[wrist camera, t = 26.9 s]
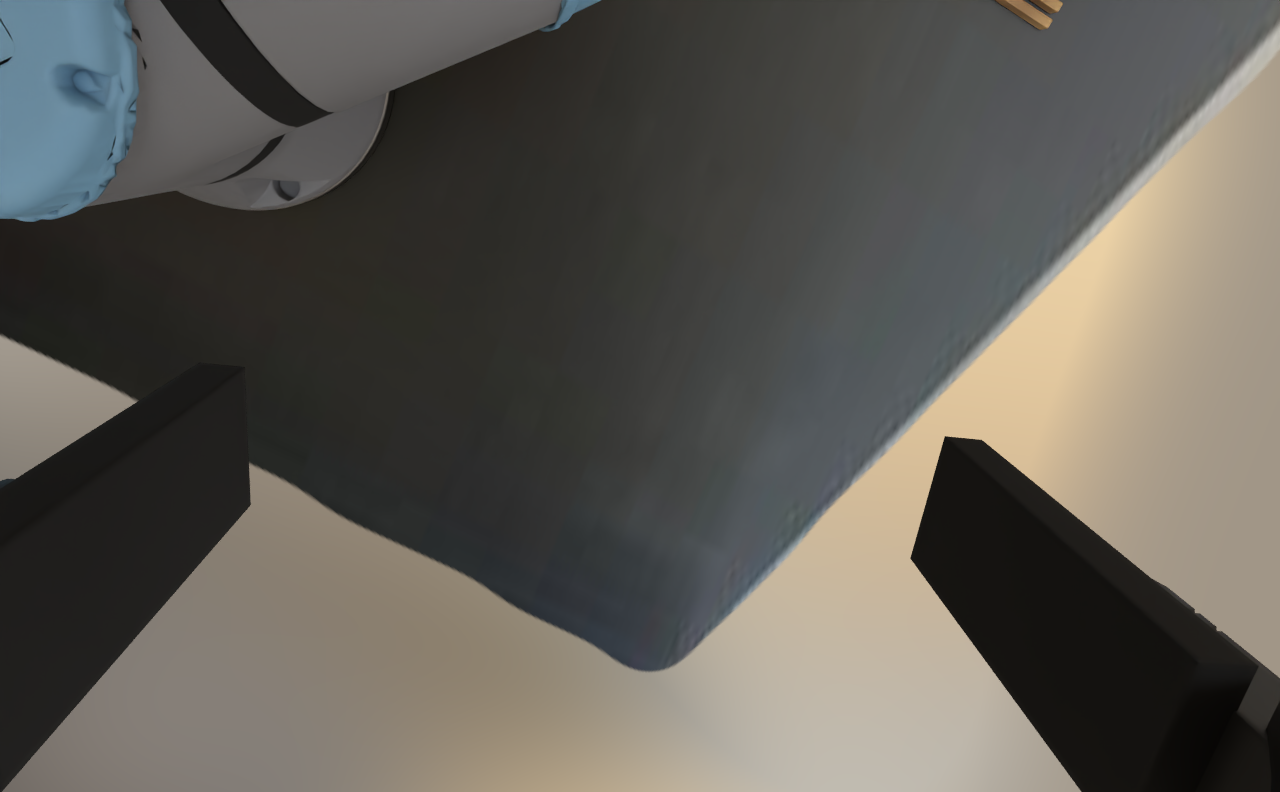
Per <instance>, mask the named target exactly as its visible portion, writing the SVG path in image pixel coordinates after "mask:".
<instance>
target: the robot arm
mask: <svg viewBox="0 0 1280 792" xmlns="http://www.w3.org/2000/svg"><path fill="white" fill-rule="evenodd" d="M599 1H601V0H0V219H2V218H5V219H12V218H14V219H18V220H21V221H29V222H35V221H37V220H40V219H48V220H51V219H57V218H60V217H63V216H66V215H69V214H72V213H75V212H77V211H78V210H80V209H82V208H83V207H87V206H93V205H98V204H104V203H109V202H115V201H120V200H126V199H131V198H137V197H142V196H148V195H153V194H159V193H164V192H170V191H175V190H177V191H179V192H181V193H183V194H185V195H188V196H190V197H192V198H195V199H198V200H201V201H203V202H207V203H211V204H214V205H219V206H224V207H229V208H234V209H242V210H274V209H281V208H286V207H291V206H294V205H298V204H302V203H305V202H308V201H311V200H314V199H316V198H319V197H321V196H324V195H326V194H328V193H329V192H331V191H333V190H335V189H337V188H338V187H340V186H341V185H342V184H344V183H345V182H347V181H348V180H349V179H350V178H351V177H352V176H354V175H355V174H356V173H357V172H358V171H359V170H360V169H361V168H362V167H363V165H364V164H365V163H366V162H367V161H368V159H369V158H370V156H371V155H372V154H373V152H374V151H375V149H376V147H377V146H378V144H379V142H380V140H381V138H382V136H383V134H384V131H385V129H386V127H387V124H388V121H389V118H390V114H391V110H392V105H393V101H394V93H395V89H396V88H399V87H401V86H403V85H406V84H408V83H411V82H413V81H415V80H418V79H420V78H423V77H425V76H427V75H430V74H432V73H435V72H437V71H439V70H442V69H444V68H447V67H449V66H451V65H454V64H456V63H459V62H461V61H463V60H466V59H468V58H471V57H473V56H475V55H478V54H480V53H483V52H485V51H487V50H490V49H492V48H495V47H497V46H500V45H502V44H504V43H507V42H509V41H512V40H514V39H516V38H519V37H521V36H524V35H526V34H528V33H531V32H533V31H536V30H538V29H539V30H541V31H543V32H549V31H552V30H555V29H558V28H559V27H560V26H561V25H562V24H563V23H565V22H567V21H568V20H569V19H570V17H571V16H572V14H574V13H576V12H578V11H580V10H582V9H584V8H586V7H588V6H591V5H593V4H595V3H597V2H599ZM250 505H251V503H250V480H249V457H248V434H247V411H246V388H245V367H237V366H227V365H217V364H207V363H198V364H197V365H195V366H193V367H192V368H190V369H189V370H187V371H186V372H184V373H182V374H181V375H179V376H178V377H176V378H174V379H173V380H171V381H170V382H168V383H167V384H165V385H163V386H162V387H160V388H159V389H157V390H155V391H154V392H152V393H151V394H149V395H148V396H146V397H144V398H143V399H141V400H140V401H138V402H137V403H135V404H133V405H132V406H130V407H129V408H127V409H125V410H124V411H122V412H121V413H119V414H118V415H116V416H114V417H113V418H111V419H110V420H108V421H106V422H105V423H103V424H102V425H100V426H99V427H97V428H96V429H94V430H92V431H91V432H89V433H88V434H86V435H84V436H83V437H81V438H80V439H78V440H76V441H75V442H73V443H72V444H70V445H69V446H67V447H65V448H64V449H62V450H61V451H59V452H57V453H56V454H54V455H53V456H51V457H50V458H48V459H46V460H45V461H44V462H42V463H40V464H39V465H37V466H35V467H34V468H32V469H31V470H29V471H28V472H26V473H24V474H23V475H21V476H20V477H18V478H16V479H6V480H2V481H0V792H2V791H3V790H4V789H5V787H6V786H7V785H8V784H9V783H10V782H11V780H12V779H13V778H14V777H15V776H16V775H17V773H18V772H19V771H20V770H21V769H22V768H23V767H24V765H25V764H26V763H27V762H28V761H29V760H30V759H31V757H32V756H33V755H34V754H35V753H36V752H37V750H38V749H39V748H40V747H41V746H42V745H43V743H44V742H45V741H46V740H47V739H48V738H49V736H51V734H52V733H53V732H54V731H55V730H56V729H57V727H58V726H59V725H60V724H61V723H62V722H63V720H64V719H65V718H66V717H67V716H68V715H69V714H70V712H71V711H72V710H73V709H74V708H75V707H76V706H77V704H78V703H79V702H80V701H81V700H82V699H83V698H84V696H85V695H86V694H87V693H88V692H89V691H90V689H91V688H92V687H93V686H94V685H95V684H96V682H97V681H98V680H99V679H100V678H101V677H102V675H103V674H104V673H105V672H106V671H107V670H108V669H109V668H110V666H111V665H112V664H113V663H114V662H115V661H116V659H117V658H118V657H119V656H120V655H121V654H122V653H123V651H124V650H125V649H126V648H127V647H128V646H129V644H130V643H131V642H132V641H133V639H135V637H136V636H137V635H138V634H139V633H140V632H141V631H142V630H143V628H144V627H145V626H146V625H147V624H148V623H149V621H150V620H151V619H152V618H153V617H154V616H155V614H156V613H157V612H158V611H159V610H160V609H161V608H162V606H163V605H164V604H165V603H166V602H167V601H168V600H169V598H170V597H171V596H172V595H173V594H174V593H175V592H176V590H177V589H178V588H179V587H180V586H181V585H182V583H183V582H184V581H185V580H186V579H187V578H188V577H189V575H190V574H191V573H192V572H193V571H194V569H195V568H196V567H197V566H198V565H199V564H200V563H201V562H202V560H203V559H204V558H205V557H206V556H207V555H208V553H209V552H210V551H211V550H212V549H213V547H215V545H216V544H217V543H218V542H219V541H220V540H221V538H222V537H223V536H224V535H225V534H226V533H227V532H228V530H229V529H230V528H231V527H232V526H233V525H234V523H235V522H236V521H237V520H238V519H239V518H240V517H241V515H242V514H243V513H244V512H245V511H246V510H247V509H248V507H249V506H250ZM911 560H912V561H913V562H914V564H915V565H916V567H917V568H918V569H919V571H920V572H921V574H922V575H923V576H924V577H925V579H926V580H927V582H928V583H929V584H930V586H931V587H932V588H933V590H934V591H935V593H936V594H937V595H938V597H939V598H940V599H941V601H942V602H943V603H944V605H945V606H946V607H947V609H948V610H949V611H950V613H951V614H952V616H953V617H954V618H955V620H956V621H957V623H958V624H959V625H960V627H961V628H962V629H963V631H964V632H965V633H966V635H967V636H968V637H969V639H970V640H971V641H972V643H973V644H974V646H975V647H976V648H977V650H978V651H979V653H980V654H981V655H982V657H983V658H984V659H985V661H986V662H987V663H988V665H989V666H990V668H991V669H992V670H993V672H994V673H995V674H996V676H997V677H998V678H999V680H1000V681H1001V683H1002V684H1003V685H1004V687H1005V688H1006V689H1007V691H1008V692H1009V693H1010V695H1011V696H1012V698H1013V699H1014V700H1015V702H1016V703H1017V704H1018V706H1019V707H1020V708H1021V710H1022V711H1023V712H1024V714H1025V715H1026V717H1027V718H1028V719H1029V721H1030V722H1031V723H1032V725H1033V726H1034V727H1035V729H1036V730H1037V731H1038V733H1039V734H1040V736H1041V737H1042V738H1043V740H1044V741H1045V742H1046V744H1047V745H1048V747H1049V748H1050V749H1051V751H1052V752H1053V753H1054V755H1055V756H1056V758H1057V759H1058V760H1059V762H1060V763H1061V764H1062V766H1063V767H1064V768H1065V770H1066V771H1067V773H1068V774H1069V775H1070V777H1071V778H1072V779H1073V781H1074V782H1075V783H1076V785H1077V786H1078V787H1079V789H1080V790H1081V792H1280V678H1279V677H1277V676H1276V675H1275V674H1274V673H1272V672H1271V671H1270V670H1269V669H1268V668H1267V667H1265V666H1264V665H1263V664H1261V663H1260V662H1259V661H1258V660H1257V659H1255V658H1254V657H1253V656H1252V655H1250V654H1249V653H1248V652H1247V651H1246V650H1244V649H1243V648H1242V647H1241V646H1239V645H1238V644H1237V643H1235V642H1234V641H1233V640H1232V639H1231V638H1229V637H1228V636H1227V635H1226V634H1224V633H1223V632H1220V631H1217V630H1216V626H1215V625H1213V624H1212V623H1211V622H1210V621H1208V620H1207V619H1206V618H1204V616H1202V615H1201V614H1198V613H1195V611H1194V610H1195V609H1194V608H1192V607H1191V606H1190V605H1189V604H1187V603H1186V602H1185V601H1184V600H1182V599H1181V598H1180V597H1179V596H1178V595H1176V594H1175V593H1174V592H1173V591H1171V590H1170V589H1169V588H1167V587H1166V586H1164V585H1162V584H1160V583H1159V582H1157V581H1155V580H1153V579H1151V578H1150V577H1149V576H1148V575H1146V574H1145V573H1144V572H1143V571H1142V570H1140V569H1139V568H1138V567H1137V566H1135V565H1134V564H1133V563H1132V562H1131V561H1129V560H1128V559H1127V558H1126V557H1124V556H1123V555H1122V554H1121V553H1120V552H1118V551H1117V550H1116V549H1115V548H1113V547H1112V546H1111V545H1110V544H1108V543H1107V542H1106V541H1105V540H1103V539H1102V538H1101V537H1100V536H1099V535H1097V534H1096V533H1095V532H1094V531H1093V530H1091V529H1090V528H1089V527H1088V526H1087V525H1085V524H1084V523H1083V522H1082V521H1080V520H1079V519H1078V518H1077V517H1075V516H1074V515H1073V514H1072V513H1071V512H1069V511H1068V510H1067V509H1066V508H1064V507H1063V506H1062V505H1061V504H1059V503H1058V502H1057V501H1056V500H1055V499H1053V498H1052V497H1051V496H1050V495H1049V494H1047V493H1046V492H1045V491H1044V490H1042V489H1041V488H1040V487H1039V486H1038V485H1036V484H1035V483H1034V482H1033V481H1031V480H1030V479H1029V478H1028V477H1027V476H1025V475H1024V474H1023V473H1022V472H1020V471H1019V470H1018V469H1017V468H1016V467H1014V466H1013V465H1012V464H1010V463H1009V462H1008V461H1007V460H1006V459H1004V458H1003V457H1002V456H1001V455H1000V454H998V453H997V452H996V451H995V450H993V449H992V448H991V447H990V446H988V445H987V444H986V443H985V442H984V441H982V440H975V439H966V438H956V437H946V436H945V438H944V442H943V445H942V449H941V452H940V456H939V460H938V463H937V466H936V470H935V473H934V477H933V481H932V484H931V488H930V491H929V495H928V498H927V502H926V505H925V509H924V512H923V516H922V519H921V523H920V527H919V530H918V534H917V537H916V541H915V544H914V548H913V551H912V555H911Z"/></svg>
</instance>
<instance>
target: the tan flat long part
mask: <svg viewBox="0 0 1280 792" xmlns="http://www.w3.org/2000/svg"><path fill="white" fill-rule="evenodd" d="M995 1H997V2H998V3H1000V4H1001V5H1003V6H1004V7H1006V8H1007V9H1009V10H1010V11H1012V12H1013V13H1015V14H1016V15H1018V16H1019V17H1021V18H1022V19H1024V20H1025V21H1027V22H1028V23H1030V24H1031V25H1033V26H1035V27H1036V28H1038V29H1039V30H1042V29H1047V28H1048V27H1049V26H1050V24H1051V22H1052V21H1053V20H1052V19H1051V18H1049V17H1048V16H1046V15H1045V14H1043V13H1042V12H1040V11H1039V10H1037V9H1036V8H1034V7H1033V6H1031V5H1030V4H1028V3H1027V2H1025V1H1024V0H995ZM1030 1H1031V2H1033V3H1034V4H1036V5H1037V6H1039V7H1040V8H1042V9H1043V10H1045V11H1046V12H1048V13H1049V14H1051V13H1056V12H1058V11H1059V9H1060V8H1061V6H1062V5H1063V3H1062V2H1060V1H1059V0H1030Z"/></svg>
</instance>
